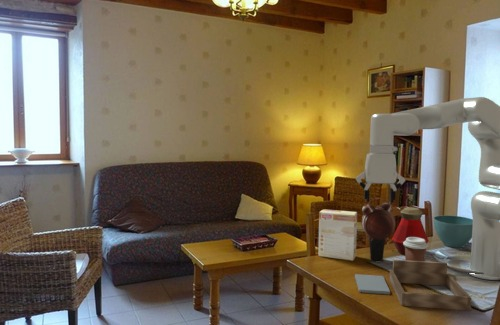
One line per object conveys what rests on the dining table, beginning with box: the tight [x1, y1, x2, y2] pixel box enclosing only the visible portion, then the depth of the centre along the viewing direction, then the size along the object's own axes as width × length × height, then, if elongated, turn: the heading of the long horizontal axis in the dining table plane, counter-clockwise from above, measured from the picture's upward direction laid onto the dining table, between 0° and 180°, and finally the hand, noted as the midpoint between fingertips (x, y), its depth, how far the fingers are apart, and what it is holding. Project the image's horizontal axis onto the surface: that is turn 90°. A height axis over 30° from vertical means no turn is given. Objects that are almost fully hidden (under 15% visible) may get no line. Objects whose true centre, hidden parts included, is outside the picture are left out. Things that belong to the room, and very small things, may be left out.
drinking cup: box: [368, 237, 386, 262], centre depth 165 cm, size 8×8×20 cm
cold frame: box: [389, 259, 472, 312], centre depth 131 cm, size 20×20×8 cm
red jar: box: [391, 206, 429, 256], centre depth 174 cm, size 16×14×20 cm
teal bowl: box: [433, 214, 473, 249], centre depth 187 cm, size 18×18×12 cm
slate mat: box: [354, 273, 391, 295], centre depth 139 cm, size 10×14×1 cm
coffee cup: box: [403, 237, 429, 261], centre depth 155 cm, size 9×9×12 cm
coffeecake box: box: [317, 208, 358, 261], centre depth 169 cm, size 15×7×20 cm, turn 66°
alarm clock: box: [361, 197, 396, 241], centre depth 137 cm, size 11×5×15 cm, turn 92°
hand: (379, 201), depth 136 cm, fingers closed on alarm clock, 7 cm apart
